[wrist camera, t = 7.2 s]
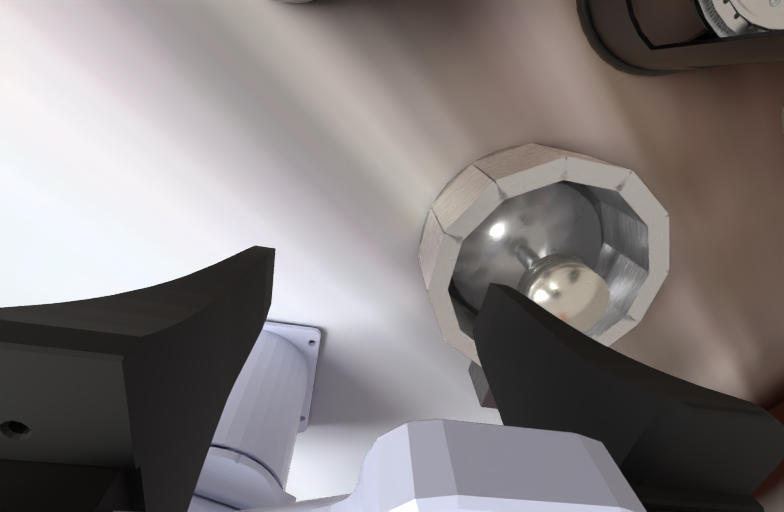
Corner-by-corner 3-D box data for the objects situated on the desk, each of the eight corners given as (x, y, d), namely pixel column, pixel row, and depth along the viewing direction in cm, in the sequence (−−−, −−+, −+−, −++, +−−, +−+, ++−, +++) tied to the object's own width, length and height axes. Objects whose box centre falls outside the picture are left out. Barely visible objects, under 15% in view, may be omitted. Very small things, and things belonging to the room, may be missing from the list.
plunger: (561, 321, 24) (615, 388, 19) (432, 302, 23) (451, 368, 18) (621, 193, 21) (708, 231, 15) (473, 163, 20) (512, 193, 14)
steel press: (549, 371, 27) (581, 422, 23) (391, 351, 26) (395, 402, 22) (649, 167, 21) (717, 188, 17) (449, 124, 20) (470, 135, 15)
